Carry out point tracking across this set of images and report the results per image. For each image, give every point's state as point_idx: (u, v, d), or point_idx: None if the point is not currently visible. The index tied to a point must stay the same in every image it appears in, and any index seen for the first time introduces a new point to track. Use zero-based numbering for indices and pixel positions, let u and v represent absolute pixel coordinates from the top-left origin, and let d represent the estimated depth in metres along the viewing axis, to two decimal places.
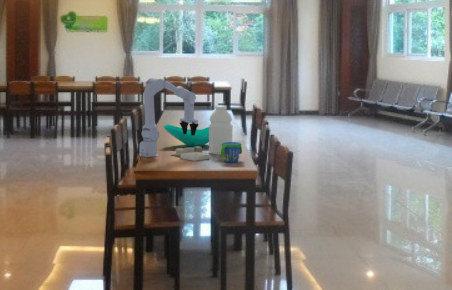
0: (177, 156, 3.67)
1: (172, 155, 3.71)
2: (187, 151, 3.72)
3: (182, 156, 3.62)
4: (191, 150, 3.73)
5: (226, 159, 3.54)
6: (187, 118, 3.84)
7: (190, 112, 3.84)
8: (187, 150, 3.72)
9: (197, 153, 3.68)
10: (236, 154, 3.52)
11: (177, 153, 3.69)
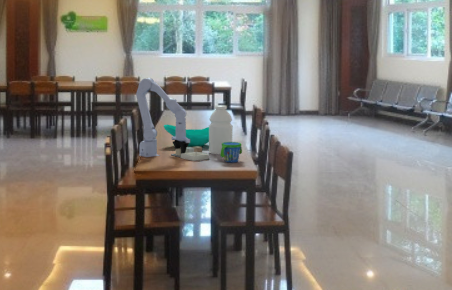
0: (177, 156, 3.67)
1: (172, 155, 3.71)
2: (187, 151, 3.72)
3: (182, 156, 3.62)
4: (191, 150, 3.73)
5: (226, 159, 3.54)
6: (179, 137, 3.66)
7: (182, 130, 3.66)
8: (187, 150, 3.72)
9: (197, 153, 3.68)
10: (236, 154, 3.52)
11: (177, 153, 3.69)
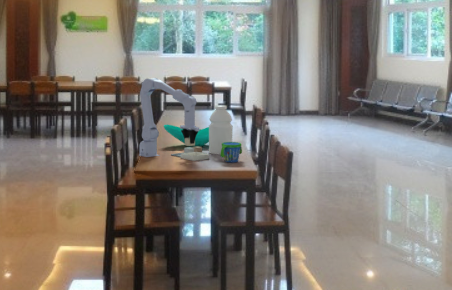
0: (177, 156, 3.67)
1: (172, 155, 3.71)
2: (187, 151, 3.72)
3: (182, 156, 3.62)
4: (191, 150, 3.73)
5: (226, 159, 3.54)
6: (188, 125, 3.57)
7: (191, 119, 3.57)
8: (187, 150, 3.72)
9: (197, 153, 3.68)
10: (236, 154, 3.52)
11: (186, 142, 3.60)
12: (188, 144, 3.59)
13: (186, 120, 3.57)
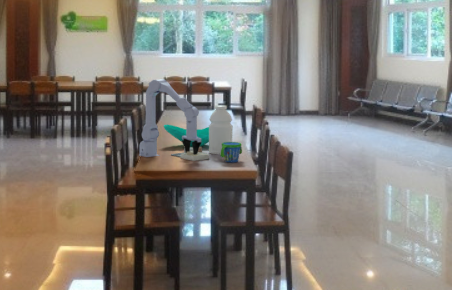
0: (177, 156, 3.67)
1: (172, 155, 3.71)
2: None
3: (182, 156, 3.62)
4: (191, 150, 3.73)
5: (226, 159, 3.54)
6: (189, 136, 3.56)
7: (193, 129, 3.56)
8: None
9: (197, 153, 3.68)
10: (236, 154, 3.52)
11: None
12: None
13: (188, 131, 3.56)
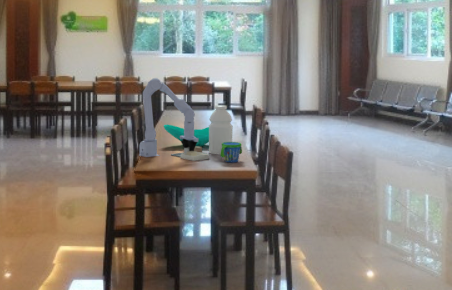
0: (177, 156, 3.67)
1: (172, 155, 3.71)
2: None
3: (182, 156, 3.62)
4: None
5: (226, 159, 3.54)
6: (187, 136, 3.70)
7: (190, 130, 3.70)
8: (187, 150, 3.72)
9: (197, 153, 3.68)
10: (236, 154, 3.52)
11: None
12: None
13: (186, 131, 3.70)
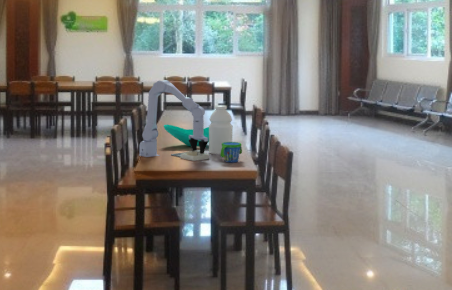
0: (177, 156, 3.67)
1: (172, 155, 3.71)
2: None
3: (182, 156, 3.62)
4: None
5: (226, 159, 3.54)
6: (196, 135, 3.60)
7: (199, 129, 3.59)
8: None
9: None
10: (236, 154, 3.52)
11: None
12: None
13: (195, 130, 3.60)
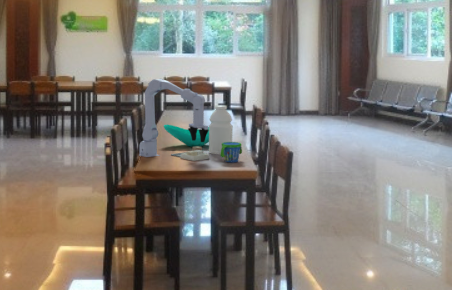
0: (177, 156, 3.67)
1: (172, 155, 3.71)
2: None
3: (182, 156, 3.62)
4: (200, 153, 3.62)
5: (226, 159, 3.54)
6: (196, 123, 3.59)
7: (200, 117, 3.58)
8: None
9: None
10: (236, 154, 3.52)
11: None
12: None
13: (195, 118, 3.59)
